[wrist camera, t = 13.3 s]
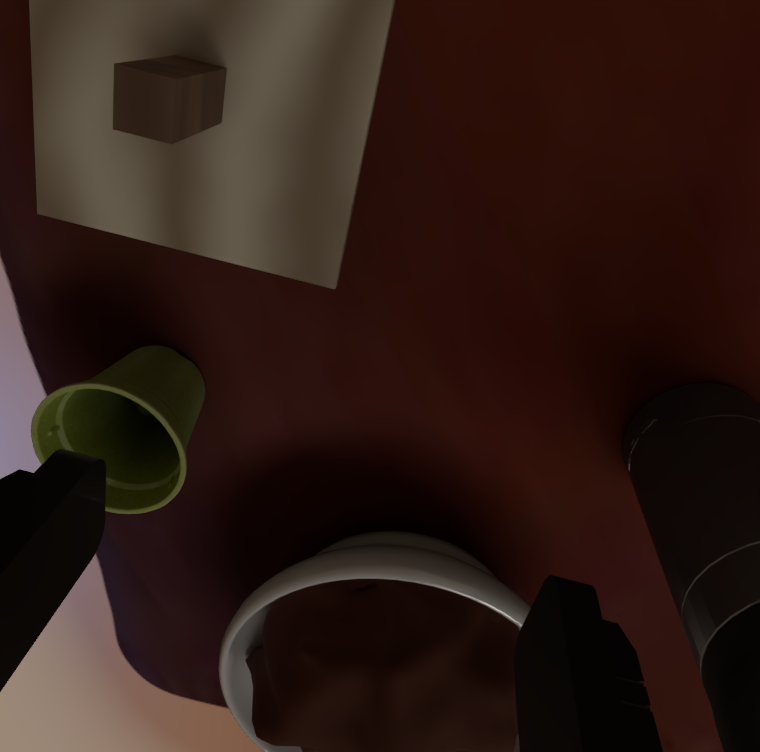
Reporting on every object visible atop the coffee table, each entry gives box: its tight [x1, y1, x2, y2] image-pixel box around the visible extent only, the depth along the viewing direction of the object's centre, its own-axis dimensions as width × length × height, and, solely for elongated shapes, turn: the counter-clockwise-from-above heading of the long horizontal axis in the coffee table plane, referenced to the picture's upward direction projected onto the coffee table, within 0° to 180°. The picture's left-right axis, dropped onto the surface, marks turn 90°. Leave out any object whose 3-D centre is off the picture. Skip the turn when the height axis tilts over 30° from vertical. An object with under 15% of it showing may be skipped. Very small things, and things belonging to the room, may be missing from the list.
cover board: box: [29, 0, 395, 289], centre depth 28 cm, size 16×16×7 cm
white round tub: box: [219, 531, 531, 752], centre depth 48 cm, size 25×25×15 cm
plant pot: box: [31, 345, 205, 514], centre depth 43 cm, size 9×9×9 cm
